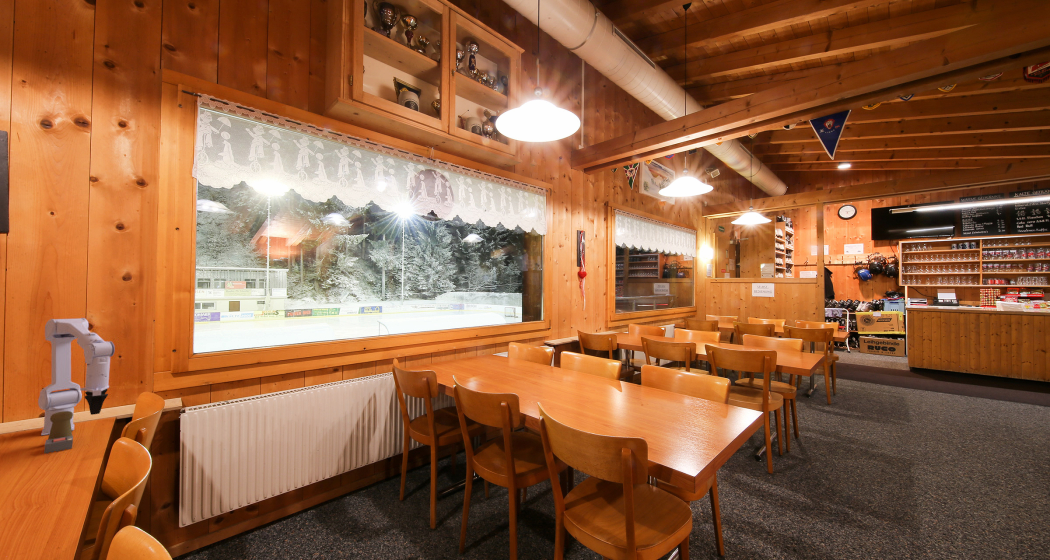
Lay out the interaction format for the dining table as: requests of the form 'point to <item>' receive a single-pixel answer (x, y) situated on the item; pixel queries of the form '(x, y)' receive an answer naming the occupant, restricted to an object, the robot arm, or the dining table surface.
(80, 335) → the robot arm
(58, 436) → the cork
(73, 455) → the dining table surface
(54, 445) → the block
